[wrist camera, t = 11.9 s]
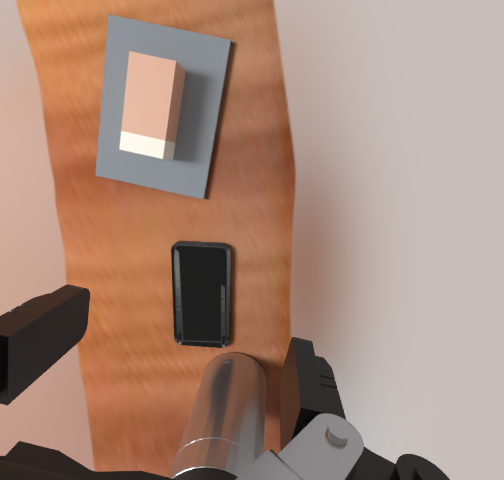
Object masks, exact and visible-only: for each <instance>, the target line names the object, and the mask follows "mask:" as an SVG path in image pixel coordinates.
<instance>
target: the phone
mask: <svg viewBox="0 0 504 480" xmlns="http://www.w3.org/2000/svg"><path fill="white" fill-rule="evenodd" d="M171 257H172V286H173V315H174V338H175V341H176V342H177V343H178V344H180V345H188V346H202V347H216V348H224V347H226V346H227V345H228V343H229V340H230V326H231V320H230V318H231V312H230V288H231V249H230V247H229V246H228V245H227V244H225V243H217V242H196V241H178V242H176V243H175V244H174V245H173V246H172V249H171Z"/></svg>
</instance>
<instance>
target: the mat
mask: <svg viewBox="0 0 504 480" xmlns="http://www.w3.org/2000/svg"><path fill="white" fill-rule="evenodd" d="M230 48H231V40H229V39H224V38H219V37H214V36H210V35H205V34H200V33H195V32H190V31H186V30H181V29H176V28H171V27H166V26H162V25H157V24H152V23H147V22H143V21H138V20H133V19H128V18H123V17H119V16H114V15H109V17H108V29H107V41H106V53H105V66H104V78H103V90H102V102H101V114H100V126H99V138H98V151H97V163H96V176H101V177H105V178H110V179H114V180H119V181H123V182H128V183H132V184H137V185H141V186H146V187H150V188H155V189H159V190H164V191H168V192H173V193H177V194H182V195H186V196H191V197H195V198H200V199H204V198H205V193H206V187H207V181H208V175H209V169H210V164H211V158H212V152H213V146H214V140H215V135H216V129H217V123H218V117H219V111H220V106H221V100H222V94H223V88H224V82H225V77H226V71H227V65H228V59H229V53H230ZM129 51H132V52H136V53H141V54H146V55H150V56H155V57H160V58H164V59H169V60H174V61H177V62H178V64H179V65H180V66H181V67H182V68H183V69H184V70H185V71H186V73H185V80H184V87H183V94H182V101H181V108H180V115H179V122H178V129H177V136H176V143H175V150H174V156H173V160H170V159H160V158H156V157H151V156H147V155H142V154H138V153H133V152H129V151H124V150H120V149H119V148H120V138H121V128H122V118H123V109H124V99H125V89H126V79H127V69H128V59H129Z"/></svg>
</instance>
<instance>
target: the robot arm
mask: <svg viewBox="0 0 504 480" xmlns="http://www.w3.org/2000/svg"><path fill="white" fill-rule="evenodd" d="M89 301H90V292H89V290H88V289H86V288H82V287H78V286H73V285H65V286H63V287H61V288H60V289H58V290H56V291H54V292H53V293H51V294H50V293H49V294H46V295H42V296H39V297H35V298H33V299H31V300H29V301H27V302H25V303H23V304H22V305H21V306H18V307H16V308H14V309H13V310H11V312H7V313H5V314H3V315H1V316H0V403H1V404H5V405H8V404H10V403H11V402H12V401H13V400H14V399H15V398H16V397H17V396H19V395H20V394H21V393H22V392H23V391H24V390H25V389H26V388H28V386H30V385H31V384H32V383H33V382H34V381H35V380H37V379H38V378H39V377H40V376H41V375H42V374H43V373H44V372H46V371H47V370H48V369H49V368H50V367H51V366H52V365H53V364H54V363H56V362H57V361H58V360H59V359H60V358H61V357H62V356H63V355H65V354H66V353H67V352H68V351H69V350H70V349H71V348H72V347H73V346H74V345H76V344H77V343H78V342H79V341H80V340H81V339H82V337H83V336H84V334H85V332H86V329H87V324H88V312H89ZM334 379H335V378H334V374H333V371H332V368H331V366H330V365H329V364H328V363H327V361H326V360H325V359H324V358H322V357H318V356H315V353H314V348H313V343H312V341H309V340H304V339H300V338H296V337H292V339H291V341H290V345H289V349H288V352H287V356H286V360H285V363H284V367H283V371H282V375H281V381H280V433H281V452H280V453H278V454H276V453H275V452H274V451H273V450H268V451H266V452H265V453H264V434H265V411H266V388H267V379H266V374H265V372H264V370H263V368H262V367H261V366H260V364H259V363H258V362H257V361H255V360H254V359H253V358H251V357H249V356H247V355H244V354H240V353H226V354H222V355H220V356H218V357H216V358H215V359H213V360H212V361H211V362H210V363H209V365H208V366H207V368H206V370H205V373H204V376H203V379H202V381H201V384H200V387H199V390H198V393H197V395H196V398H195V401H194V404H193V407H192V410H191V413H190V416H189V419H188V422H187V425H186V427H185V430H184V433H183V436H182V439H181V442H180V445H179V448H178V451H177V454H176V456H175V459H174V462H173V466H172V468H171V471H170V474H169V477H164V476H160V475H156V474H151V473H147V472H143V471H114V472H95V471H91V470H89V469H88V468H86V467H84V466H83V465H81V464H79V463H78V462H76V461H74V460H73V459H71V458H70V457H68V456H66V455H65V454H63V453H61V452H60V451H58V450H54V449H49V448H45V447H41V446H37V445H33V444H29V443H25V442H21V441H19V442H18V443H17V444H16V445H15V446H14V447H13V448H12V449H11V450H10V451H9V453H8V454H7V455H6V456H0V480H450V479H449V478H448V477H447V476H446V475H445V474H444V473H443V472H442V471H441V470H440V469H439V468H438V467H437V466H436V465H434V464H433V463H431V462H430V461H428V460H426V459H424V458H422V457H420V456H417V455H413V454H404V455H402V456H400V457H399V458H398V460H397V462H396V464H394V463H392V462H390V461H389V460H387V459H385V458H383V457H381V456H379V455H377V454H375V453H373V452H371V451H370V450H368V449H367V448H366V447H364V446H363V440H362V438H361V436H360V434H359V432H358V431H357V430H356V429H355V427H354V426H353V425H352V424H350V423H349V422H348V421H346V418H345V414H344V410H343V407H342V403H341V400H340V396H339V392H338V390H337V385H336V382H335V380H334Z"/></svg>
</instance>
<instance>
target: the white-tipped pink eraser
mask: <svg viewBox="0 0 504 480" xmlns="http://www.w3.org/2000/svg"><path fill="white" fill-rule="evenodd" d="M185 73H186V71H185V70H184V69H183V68H182V67H181V66H180V65H179V64H178V62H177V61H174V60H169V59H164V58H160V57H155V56H150V55H146V54H141V53H136V52H132V51H129V59H128V69H127V79H126V89H125V99H124V109H123V118H122V128H121V138H120V148H119V149H120V150H124V151H129V152H133V153H138V154H142V155H147V156H151V157H156V158H160V159H170V160H173V156H174V150H175V143H176V136H177V129H178V122H179V115H180V108H181V101H182V94H183V87H184V80H185Z"/></svg>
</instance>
